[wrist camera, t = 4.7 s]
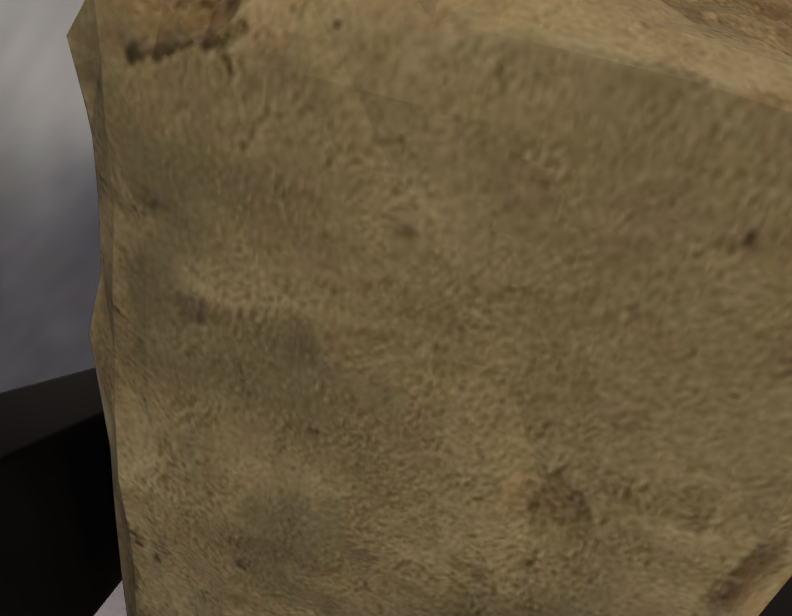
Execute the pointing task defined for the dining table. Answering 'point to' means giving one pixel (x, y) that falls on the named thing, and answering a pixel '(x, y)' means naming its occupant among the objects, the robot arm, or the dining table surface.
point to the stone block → (444, 304)
